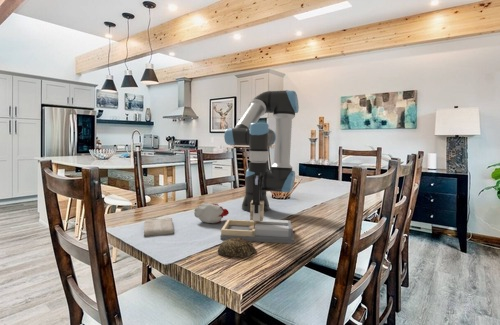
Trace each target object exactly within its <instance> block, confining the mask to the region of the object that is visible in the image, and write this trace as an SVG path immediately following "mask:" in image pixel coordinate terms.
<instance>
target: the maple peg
mask: <svg viewBox="0 0 500 325" xmlns="http://www.w3.org/2000/svg"><path fill="white" fill-rule="evenodd" d="M251 203H253V200H252V201H251ZM249 212H250V214H249V219H250V220H249V221H253V205H251V204H250V211H249ZM264 213H265V211H264V201H260V221H263V219H265V218H264V217H265V216H264ZM260 221H254V225H252V226H250V227H249V230H251V231H252V229H255V225H256V224H260Z"/></svg>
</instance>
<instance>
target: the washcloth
mask: <svg viewBox="0 0 500 325" xmlns="http://www.w3.org/2000/svg"><path fill="white" fill-rule="evenodd" d="M173 223H174V222H173V218H172V217H165V218H147V219H145V220H144V223H143V236H144V237H149V236H159V235H160V236H162V235H173V234H175V230H174V224H173Z"/></svg>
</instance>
